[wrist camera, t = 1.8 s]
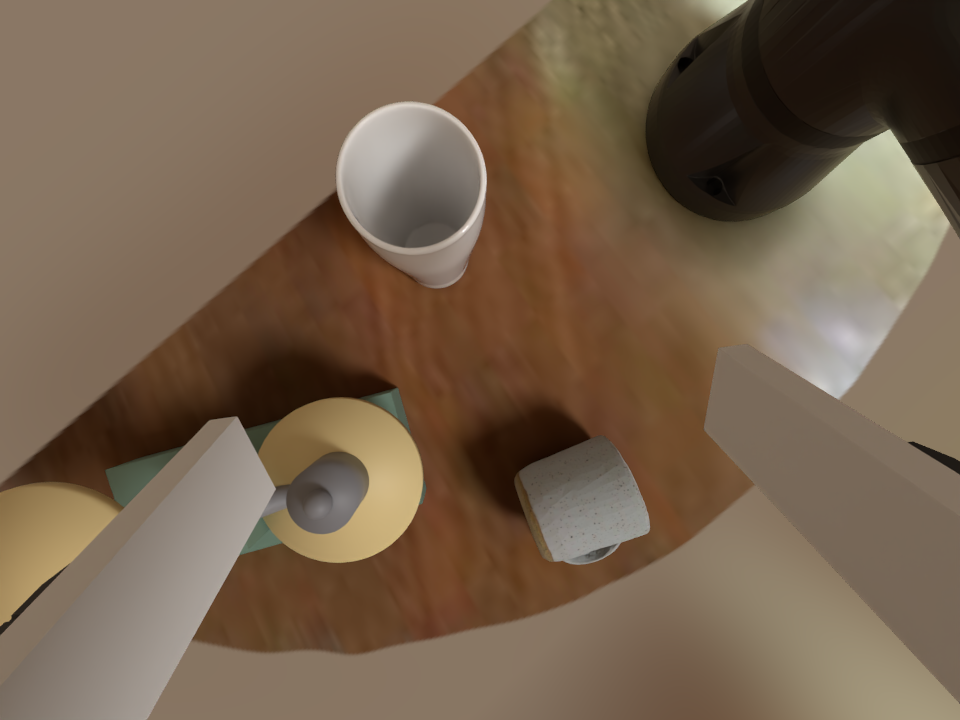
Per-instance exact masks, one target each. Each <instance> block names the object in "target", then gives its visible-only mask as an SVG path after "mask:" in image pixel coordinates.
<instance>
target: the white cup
mask: <svg viewBox="0 0 960 720" xmlns="http://www.w3.org/2000/svg"><path fill="white" fill-rule="evenodd" d="M335 177H336V189H337V194H338V198H339V201H340V204H341V206H342V209H343V211H344V213H345V215H346V216H347V218H348V220H349V221H350V223H351V224H352V225H353V226H354V228H355V229H356V231H357V232H358V233H359V235H360V236H361V237H362V238H363V239H364V241H365V242H366V243H367V244H368V245H369V246H370V247H371V248H372V249H373V250H374V251H375V252H376V253H377V254H378V255H379V256H380V257H381V258H383V259H384V260H385V261H386V262H388V263H389V264H391V265H392V266H394V267H395V268H397V269H399V270H400V271H402V272H404V273H406V274H407V275H409V276H411V277H412V278H413V279H414V280H415V281H416V282H418V283H419V284H421V285H423V286H425V287H429V288H444V287H447V286H450V285H452V284H454V283H455V282H456V281H458V280H459V279H460V278H461V277H462V275H463V274H464V272H465V270H466V268H467V265H468V261H469V257H470V255H471V253H472V251H473V248H474V246H475V244H476V242H477V239H478V237H479V234H480V231H481V228H482V224H483V219H484V214H485V206H486V185H487V175H486V167H485V162H484V159H483V155H482V153H481V150H480V148H479V146H478V144H477V142H476V140H475V138H474V137H473V135H472V134H471V133H470V131H469V130H468V129H467V128H466V127H465V126H464V125H463V124H462V123H461V122H460V121H459V120H458V119H457V118H456V117H454V116H453V115H451V114H450V113H448V112H446V111H445V110H443V109H441V108H438V107H436V106H433V105H430V104H426V103H421V102H410V101H406V102H397V103H391V104H388V105H385V106H382V107H380V108H377V109H376V110H374V111H372V112H370V113H369V114H367V115H366V116H364V117H363V118H362V119H361V120H360V121H359V122H358V123H357V124H356V125H355V126H354V127H353V128H352V129H351V131H350V132H349V133H348V135H347V137H346V138H345V140H344V142H343V144H342V146H341V149H340V151H339V155H338V158H337V164H336V176H335Z"/></svg>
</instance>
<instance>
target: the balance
mask: <svg viewBox="0 0 960 720" xmlns="http://www.w3.org/2000/svg"><path fill="white" fill-rule="evenodd" d="M244 430H245V432H246V434H247V436H248V438H249V439H250V441H251V443H252V445H253V447H254V449H255V451H256V453H257V454H258V456H259V458H260V460H261V462H262V464H263V466H264V468H265V469H266V471H267V473H268V475H269V477H270V479H271V481H272V483H273V484H274V486H275V488H276V490H275V492H274V493H273V495H272V497H271V499H270V500H269V502H268V504H267V506H266V508H265V509H264V511H263V513H262V515H261V517H260V518H259V520H258V522H257V524H256V525H255V527H254V529H253V531H252V533H251V534H250V536H249V538H248V540H247V542H246V543H245V545H244V547H243V549H242V550H241V552H240V554H239V555H241V554H245V553H248V552H252V551H255V550H259V549H262V548H266V547H269V546H273V545H277V544H280V543H284V544H285V545H286V546H288V547H289V548H291V549H292V550H294V551H296V552H297V553H299V554H302V555H304V556H306V557H308V558H312V559H315V560H319V561H325V562H335V563H342V562H352V561H357V560H361V559H364V558H367V557H370V556H373V555H375V554H377V553H379V552H380V551H382V550H384V549H385V548H387V547H388V546H390V545H391V544H392V543H393V542H394V541H396V540H397V539H398V538H399V537H400V536H401V535H402V533H403V532H404V531H405V530H406V529H407V527H408V526H409V524H410V523H411V521H412V519H413V517H414V515H415V513H416V511H417V508H418V505H419V504H422V503H423V499H424V496H425V492H426V485H425V482H424V474H423V464H422V459H421V455H420V452H419V449H418V446H417V444H416V442H415V440H414V438H413V437H412V435H411V432H410V429H409V425H408V422H407V418H406V415H405V411H404V408H403V404H402V401H401V397H400V394H399V390H398V388H394V389H391V390H387V391H383V392H380V393H376V394H372V395H369V396H365V397H361V398H358V399H357V398H350V397H334V398H327V399H322V400H318V401H315V402H312V403H309V404H307V405H304V406H302V407H300V408H298V409H296V410H294V411H293V412H291V413H290V414H288V415H287V416H285V417H284V418H283V419H281V420H277V421H273V422H270V423H266V424H262V425H258V426H255V427H251V428H247V429H244ZM183 447H184V446H181V447H178V448H174V449H170V450H167V451H163V452H159V453H156V454H152V455H148V456H145V457H141V458H138V459H135V460H132V461H129V462H127V463H124V464H121V465H118V466H115V467H112V468H110V469H107V470H105V472H106V475H107V478H108V481H109V484H110V487H111V490H112V493H113V496H114V499H115V500H113V499H111V498H110V497H108V496H106V495H105V494H102V493H100V492H98V491H96V490H93V489H91V488H87V487H84V486H81V485H77V484H71V483H65V482H38V483H32V484H27V485H22V486H19V487H15V488H12V489H9V490H6V491H3V492H0V626H1V625H2V624H3V623H4V622H9V621H10V620H11V615H12V614H13V613H14V612H15V611H16V610H17V609H18V608H19V607H20V606H21V605H22V604H23V603H24V602H25V601H26V600H27V599H28V598H29V597H30V596H31V595H32V594H33V593H34V592H35V591H36V590H37V589H38V588H39V587H40V586H41V585H42V584H43V583H45V582H46V581H47V580H49V579H50V578H51V577H53V576H54V575H55V574H57V573H58V572H59V571H60V570H62V569H63V568H64V567H66V566H67V565H68V564H70V563H71V562H72V561H73V560H74V559H75V558H76V557H77V556H78V555H79V554H80V553H81V552H82V551H83V550H84V549H85V548H86V547H87V546H88V545H89V544H90V543H91V542H92V541H93V540H94V539H95V537H96V536H97V535H98V534H99V533H100V532H101V531H102V530H103V529H104V528H105V527H106V526H107V525H108V524H109V523H110V522H111V521H112V520H113V519H114V518H115V517H116V516H117V515H118V514H119V513H120V512H121V511H122V510H123V509H124V508H125V507H126V506H127V505H128V504H129V502H130V501H131V500H132V499H133V498H134V497H135V496H136V495H137V494H138V493H139V492H140V491H141V490H142V489H143V488H144V487H145V486H146V485H147V484H148V483H149V482H150V481H151V480H152V479H153V478H154V477H155V476H156V475H157V474H158V473H159V472H160V471H161V470H162V469H163V468H164V466H165V465H166V464H167V463H168V462H169V461H170V460H171V459H172V458H173V457H174V456H175V455H176V454H177V453H178V452H179V451H180V450H181V449H182V448H183Z"/></svg>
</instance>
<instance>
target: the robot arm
mask: <svg viewBox="0 0 960 720" xmlns="http://www.w3.org/2000/svg"><path fill="white" fill-rule="evenodd" d="M889 129H890V130H891V131H892V133H893V134H894V136H895V137H896V139H897V140H898V142H899V143H900V145H901V146H902V148H903V149H904V151H905V152H906V154H907V155H908V157H909V158H910V160H911V162H912V164H913V166H914V167H915V169H916V170H917V172H918V173H919V175H920V176H921V178H922V179H923V181H924V183H925V184H926V186H927V187H928V189H929V190H930V192H931V193H932V195H933V196H934V198H935V199H936V201H937V203H938V204H939V206H940V207H941V209H942V211H943V212H944V214H945V216H946V217H947V219H948V220H949V222H950V224H951V225H952V227H953V229H954V230H955V231H956V233H957V235H958V237H959V238H960V0H748V1H746V2H745V3H743V4H742V5H740V6H739V7H738V8H736V9H735V10H733V11H732V12H730V13H729V14H727V15H726V16H725V17H723V18H722V19H720V20H719V21H717V22H716V23H714V24H713V25H712V26H710V27H709V28H707V29H706V30H704V31H703V32H701V33H700V34H699V35H698V36H696V37H695V38H694V39H693V40H692V41H691V42H690V43H689V44H688V45H687V46H686V47H685V48H684V49H683V50H682V51H681V52H680V53H679V55H678V56H677V57H676V59H675V60H674V61H673V63H672V64H671V65H670V67H669V68H668V69H667V71H666V72H665V73H664V75H663V76H662V78H661V79H660V81H659V83H658V84H657V86H656V88H655V91H654V93H653V95H652V98H651V101H650V104H649V109H648V114H647V121H646V140H647V147H648V152H649V156H650V159H651V162H652V165H653V167H654V170H655V172H656V174H657V176H658V178H659V179H660V181H661V182H662V184H663V185H664V187H665V188H666V189H667V190H668V192H669V193H670V194H671V195H672V196H673V197H674V198H675V199H676V200H677V201H678V202H680V203H681V204H682V205H684V206H685V207H686V208H688V209H690V210H691V211H693V212H695V213H697V214H699V215H702V216H704V217H707V218H711V219H715V220H720V221H745V220H750V219H754V218H758V217H761V216H763V215H766V214H768V213H770V212H773V211H775V210H777V209H780V208H782V207H784V206H786V205H788V204H790V203H792V202H794V201H795V200H797V199H799V198H800V197H802V196H803V195H805V194H806V193H807V192H809V191H810V190H811V189H812V188H813V187H814V186H816V185H817V184H818V183H819V182H820V181H821V180H822V179H823V178H824V177H826V176H827V175H828V174H829V173H830V172H831V171H832V170H833V169H834V168H836V167H837V166H838V165H839V164H840V163H841V162H842V161H843V160H845V159H846V158H847V157H848V156H849V155H850V154H851V153H852V152H853V151H855V150H856V149H857V148H858V147H859V146H860V145H861V144H862V143H863V142H865V141H867V140H869V139H871V138H873V137H875V136H877V135H879V134H881V133H883V132H885V131H887V130H889ZM704 430H705V432H706V433H707V434H708V435H709V436H710V437H711V438H712V439H713V440H714V441H715V442H716V443H717V444H718V445H719V446H720V448H721V449H722V450H723V451H724V452H725V453H726V454H727V455H728V456H729V457H730V458H731V459H732V460H733V461H734V463H735V464H736V465H737V466H738V467H739V468H740V469H741V470H742V471H743V472H744V473H745V474H746V475H747V476H748V477H749V479H750V480H751V481H752V482H753V483H754V484H755V485H756V486H757V487H758V488H759V489H760V490H761V491H762V492H763V494H764V495H765V496H766V497H767V498H768V499H769V500H770V501H771V502H772V503H773V504H774V505H775V506H776V507H777V509H779V510H780V512H781V513H782V514H783V515H784V516H785V517H786V518H787V519H788V520H789V521H790V522H791V523H792V524H793V526H794V527H796V529H797V530H798V531H799V532H800V533H801V534H802V535H803V536H804V537H805V538H806V539H807V541H808V542H809V543H810V544H811V545H812V546H813V547H814V548H815V549H816V550H817V551H818V552H819V553H820V554H821V556H822V557H823V558H824V559H825V560H826V561H827V562H828V563H829V564H830V565H831V566H832V567H833V568H834V569H835V570H836V572H837V573H838V574H839V575H840V576H841V577H842V578H843V579H844V580H845V581H846V582H847V583H848V584H849V585H850V587H852V589H853V590H854V591H855V592H856V593H857V594H858V595H859V596H860V597H861V598H862V599H863V600H864V602H865V603H866V604H867V605H868V606H869V607H870V608H871V609H872V610H873V611H874V612H875V613H876V614H877V615H878V616H879V618H880V619H881V620H882V621H883V622H884V623H885V624H886V625H887V626H888V627H889V628H890V629H891V630H892V632H894V634H895V635H896V636H897V637H898V638H899V639H900V640H901V641H902V642H903V643H904V644H905V645H906V646H907V647H908V648H909V650H910V651H911V652H912V653H913V654H914V655H915V656H916V657H917V658H918V659H919V660H920V661H921V662H922V663H923V665H924V666H925V667H926V668H927V669H928V670H929V671H930V672H931V673H932V674H933V675H934V676H935V677H936V679H937V680H938V681H939V682H940V683H941V684H942V685H943V686H944V687H945V688H946V689H947V690H948V691H949V692H950V693H951V695H952V696H953V697H954V698H955V699H956V700H957V701H958V702H959V703H960V461H958V460H956V459H955V458H952V457H949V456H947V455H945V454H942V453H940V452H937V451H935V450H933V449H930V448H927V447H925V446H923V445H920V444H918V443H915V442H906V441H904V440H902V439H901V438H899V437H898V436H896V435H894V434H893V433H891V432H890V431H888V430H886V429H885V428H883V427H881V426H880V425H878V424H876V423H875V422H873V421H872V420H870V419H868V418H867V417H865V416H863V415H862V414H860V413H859V412H857V411H855V410H854V409H852V408H851V407H849V406H847V405H845V404H844V403H842V402H840V401H839V400H837V399H836V398H834V397H833V396H831V395H829V394H828V393H826V392H824V391H823V390H821V389H820V388H818V387H816V386H815V385H813V384H811V383H810V382H808V381H807V380H805V379H803V378H802V377H800V376H798V375H797V374H795V373H794V372H792V371H790V370H789V369H787V368H785V367H784V366H782V365H781V364H779V363H777V362H776V361H774V360H772V359H771V358H769V357H768V356H766V355H764V354H763V353H761V352H759V351H758V350H756V349H754V348H753V347H751V346H750V345H748V344H743V345H736V346H729V347H722V348H718V354H717V359H716V365H715V370H714V376H713V381H712V387H711V392H710V397H709V403H708V408H707V414H706V419H705V425H704ZM275 490H276V488H275V486H274V484H273V483H272V481H271V479H270V477H269V475H268V473H267V471H266V469H265V468H264V466H263V464H262V462H261V460H260V458H259V456H258V454H257V453H256V451H255V449H254V447H253V445H252V443H251V441H250V439H249V438H248V436H247V434H246V432H245V430H244V428H243V426H242V424H241V422H240V421H239V419H238V417H237V416H235V417H228V418H221V419H214V420H209V421H208V422H207V423H206V424H205V425H204V426H203V427H202V428H201V429H200V430H199V432H198V433H197V434H196V435H195V436H194V437H193V438H192V439H191V440H190V441H189V442H188V443H187V444H186V445H185V446H184V447H183V448H182V449H181V450H180V451H179V452H178V453H177V454H176V455H175V456H174V457H173V458H172V459H171V460H170V461H169V462H168V463H167V464H166V465H165V466H164V468H163V469H162V470H161V471H160V472H159V473H158V474H157V475H156V476H155V477H154V478H153V479H152V480H151V481H150V482H149V483H148V484H147V485H146V486H145V487H144V488H143V489H142V490H141V491H140V492H139V493H138V494H137V495H136V496H135V497H134V498H133V499H132V500H131V501H130V502H129V504H128V505H127V506H126V507H125V508H124V509H123V510H122V511H121V512H120V513H119V514H118V515H117V516H116V517H115V518H114V519H113V520H112V521H111V522H110V523H109V524H108V525H107V526H106V527H105V528H104V529H103V530H102V531H101V532H100V533H99V534H98V535H97V536H96V537H95V539H94V540H93V541H92V542H91V543H90V544H89V545H88V546H87V547H86V548H85V549H84V550H83V551H82V552H81V553H80V554H79V555H78V556H77V557H76V558H75V559H74V560H73V561H72V562H71V563H70V564H68V565H67V566H66V567H64V568H63V569H62V570H60V571H59V572H58V573H57V574H55V575H54V576H53V577H51V578H50V579H49V580H47V581H46V582H45V583H43V584H42V585H41V586H40V587H39V588H38V589H37V590H36V591H35V592H34V593H33V594H32V595H31V596H30V597H29V598H28V599H27V600H26V601H25V602H24V603H23V604H22V605H21V606H20V607H19V608H18V609H17V610H16V611H15V612H14V613H13V614H12V615H11V620H10V621H9V622H4V623H3V624H2V625H1V626H0V720H147V718H148V717H149V715H150V713H151V711H152V709H153V708H154V706H155V704H156V702H157V700H158V699H159V697H160V695H161V693H162V691H163V689H164V688H165V686H166V684H167V682H168V681H169V679H170V677H171V675H172V674H173V672H174V670H175V668H176V667H177V665H178V663H179V661H180V659H181V658H182V656H183V654H184V652H185V650H186V649H187V647H188V645H189V643H190V642H191V640H192V638H193V636H194V634H195V633H196V631H197V629H198V627H199V625H200V624H201V622H202V620H203V618H204V617H205V615H206V613H207V611H208V609H209V608H210V606H211V604H212V602H213V600H214V599H215V597H216V595H217V593H218V592H219V590H220V588H221V586H222V584H223V583H224V581H225V579H226V577H227V575H228V574H229V572H230V570H231V568H232V567H233V565H234V563H235V561H236V559H237V558H238V556H239V554H240V552H241V550H242V549H243V547H244V545H245V543H246V542H247V540H248V538H249V536H250V534H251V533H252V531H253V529H254V527H255V525H256V524H257V522H258V520H259V518H260V517H261V515H262V513H263V511H264V509H265V508H266V506H267V504H268V502H269V500H270V499H271V497H272V495H273V493H274V492H275Z"/></svg>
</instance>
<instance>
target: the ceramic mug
mask: <svg viewBox="0 0 960 720" xmlns="http://www.w3.org/2000/svg"><path fill="white" fill-rule="evenodd" d="M514 484H515V487H516V491H517V494H518V497H519V500H520V502H521V505H522V508H523V511H524V514H525V517H526V519H527V522H528V525H529V527H530V530H531V533H532V535H533V538H534V540H535V542H536V545H537V547H538V549H539V551H540V553H541V555H542V557H543V558H545V559H546V560H548V561H550V562H553V561H562V560H563V561H565V562H566V563H570V564H578V565H579V564H588V563H592V562H595V561H598V560H601V559H603V558H605V557H606V556H608V555H610V554H611V553H612V552H614V551H615V550H616V549H617V548H618V546H619V545H620V543H621V542H624V541H627V540H630V539H633V538H636V537H639V536H642V535H644V534H647V533H648V532H649V530H650V522H649V516H648V512H647V509H646V506H645V503H644V501H643V498H642V496H641V493H640V491H639V489H638V486H637V484H636V482H635V479H634V477H633V475H632V473H631V471H630V469H629V467H628V466H627V464H626V463H625V461H624V460H623V458H622V456H621V454H620V453H619V451H618V450H617V449H616V447H615V446H614V445H613V444H612V443H611V442H610V441H609V440H608V439H607V438H606V437H605V436H601V435H600V436H596V437H594V438H592V439H589V440H587V441H585V442H582V443H580V444H577V445H575V446H572V447H570V448H568V449H565V450H563V451H561V452H558V453H556V454H554V455H552V456H549V457H547V458H544V459H541V460H539V461H536V462H534V463H532V464H530V465H528V466H526V467H525V468H523V469H522V470H520V471H519V472H518V473H517V474H516V476H515V479H514Z"/></svg>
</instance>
